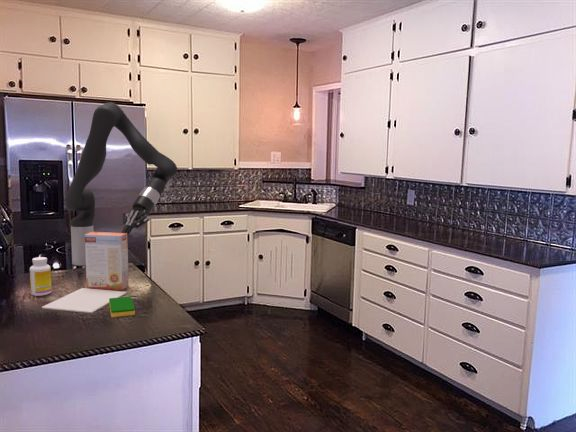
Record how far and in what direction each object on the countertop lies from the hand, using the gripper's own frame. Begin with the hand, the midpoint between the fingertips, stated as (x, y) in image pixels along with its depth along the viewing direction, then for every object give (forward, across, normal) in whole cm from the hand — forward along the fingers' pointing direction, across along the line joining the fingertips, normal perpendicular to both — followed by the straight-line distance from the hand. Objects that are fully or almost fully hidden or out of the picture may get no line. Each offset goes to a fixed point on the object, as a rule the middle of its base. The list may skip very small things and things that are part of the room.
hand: (124, 234), depth 185 cm
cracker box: (+19, 0, +8) cm, 21 cm away
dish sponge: (+30, +22, -1) cm, 37 cm away
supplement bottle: (+32, -14, -5) cm, 35 cm away
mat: (+29, +5, -2) cm, 30 cm away
